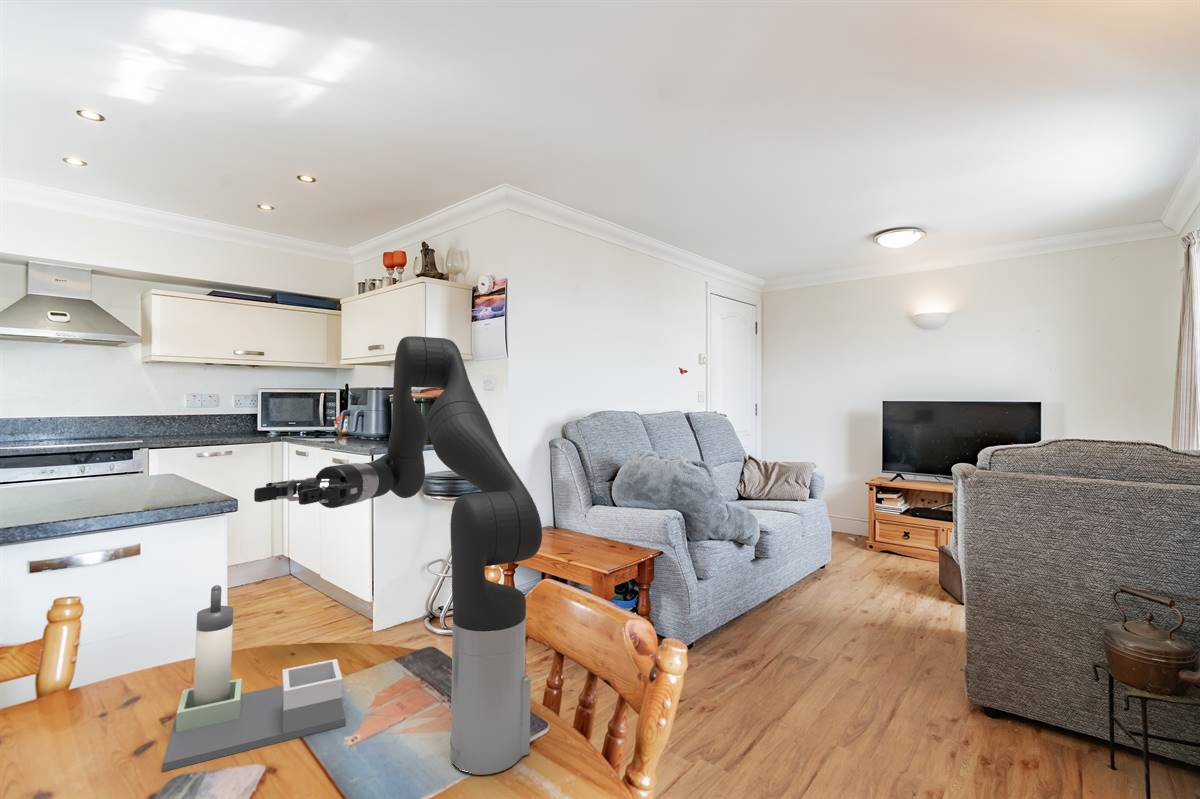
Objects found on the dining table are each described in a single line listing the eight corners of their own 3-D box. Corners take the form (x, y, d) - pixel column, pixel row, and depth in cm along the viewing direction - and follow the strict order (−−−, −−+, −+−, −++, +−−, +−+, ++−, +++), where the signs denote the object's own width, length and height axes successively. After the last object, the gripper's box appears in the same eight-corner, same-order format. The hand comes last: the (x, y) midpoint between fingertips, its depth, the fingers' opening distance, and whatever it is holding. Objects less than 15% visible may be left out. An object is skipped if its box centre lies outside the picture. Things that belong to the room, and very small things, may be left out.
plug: (230, 701, 81) (235, 579, 81) (228, 715, 78) (233, 587, 78) (194, 708, 79) (199, 582, 79) (191, 723, 76) (196, 592, 76)
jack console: (334, 680, 90) (335, 639, 90) (345, 725, 77) (346, 678, 78) (178, 713, 80) (179, 667, 80) (162, 771, 67) (164, 717, 67)
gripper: (315, 462, 107) (241, 471, 91) (381, 465, 103) (316, 474, 88) (314, 502, 107) (240, 518, 91) (380, 506, 103) (315, 523, 88)
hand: (278, 496), depth 89 cm, fingers open, 8 cm apart
